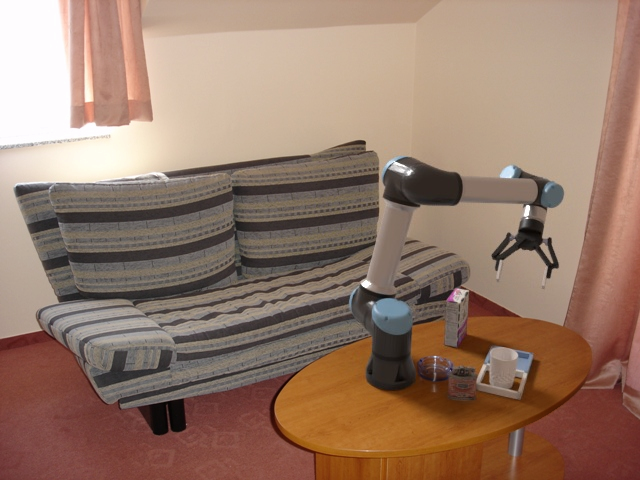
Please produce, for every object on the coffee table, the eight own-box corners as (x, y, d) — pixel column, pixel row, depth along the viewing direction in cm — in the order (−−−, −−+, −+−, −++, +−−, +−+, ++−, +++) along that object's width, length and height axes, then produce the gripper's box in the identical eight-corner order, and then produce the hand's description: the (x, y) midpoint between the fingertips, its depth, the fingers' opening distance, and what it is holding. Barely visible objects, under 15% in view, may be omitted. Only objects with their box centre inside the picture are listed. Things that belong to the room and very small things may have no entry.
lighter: (447, 399, 183) (449, 368, 180) (446, 393, 186) (448, 362, 183) (476, 401, 182) (478, 370, 179) (475, 395, 185) (477, 364, 182)
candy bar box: (452, 331, 222) (455, 287, 216) (466, 334, 220) (470, 290, 214) (442, 345, 213) (445, 300, 207) (457, 348, 210) (461, 303, 205)
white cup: (485, 376, 194) (487, 346, 191) (511, 376, 194) (514, 347, 191) (490, 390, 187) (493, 360, 184) (517, 391, 187) (521, 360, 183)
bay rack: (474, 389, 188) (474, 383, 187) (491, 350, 209) (491, 345, 208) (520, 400, 182) (521, 393, 182) (532, 358, 204) (533, 353, 203)
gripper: (573, 233, 203) (563, 294, 196) (494, 223, 214) (480, 282, 207) (573, 222, 197) (562, 285, 190) (491, 213, 208) (477, 273, 200)
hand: (520, 284), depth 198 cm, fingers open, 13 cm apart
